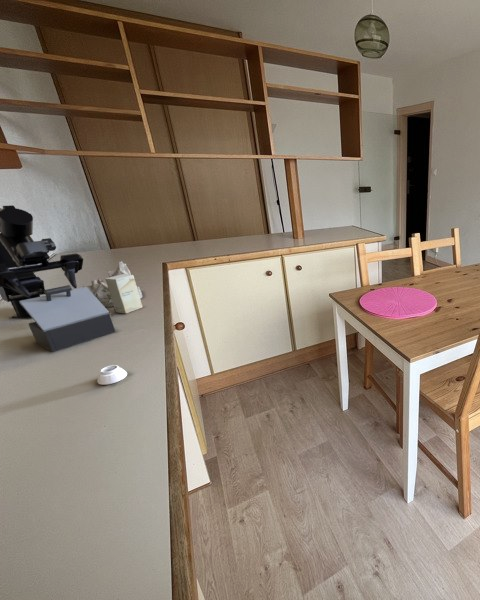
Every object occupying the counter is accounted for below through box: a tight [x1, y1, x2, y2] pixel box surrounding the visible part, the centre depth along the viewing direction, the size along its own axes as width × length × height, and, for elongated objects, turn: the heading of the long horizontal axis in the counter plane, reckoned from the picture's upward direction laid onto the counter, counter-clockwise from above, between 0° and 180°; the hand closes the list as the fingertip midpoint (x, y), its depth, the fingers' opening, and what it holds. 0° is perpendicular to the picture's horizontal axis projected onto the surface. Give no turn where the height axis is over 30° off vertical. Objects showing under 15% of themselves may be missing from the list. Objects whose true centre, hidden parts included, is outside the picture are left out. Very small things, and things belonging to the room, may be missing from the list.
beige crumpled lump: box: [81, 261, 143, 308], centre depth 114 cm, size 16×16×15 cm
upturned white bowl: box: [96, 364, 128, 386], centre depth 71 cm, size 5×3×5 cm
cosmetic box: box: [104, 274, 143, 314], centre depth 106 cm, size 6×4×12 cm
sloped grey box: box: [28, 313, 116, 353], centre depth 89 cm, size 11×14×6 cm
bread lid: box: [19, 284, 110, 332], centre depth 85 cm, size 11×14×5 cm
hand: (54, 292), depth 87 cm, fingers open, 9 cm apart
